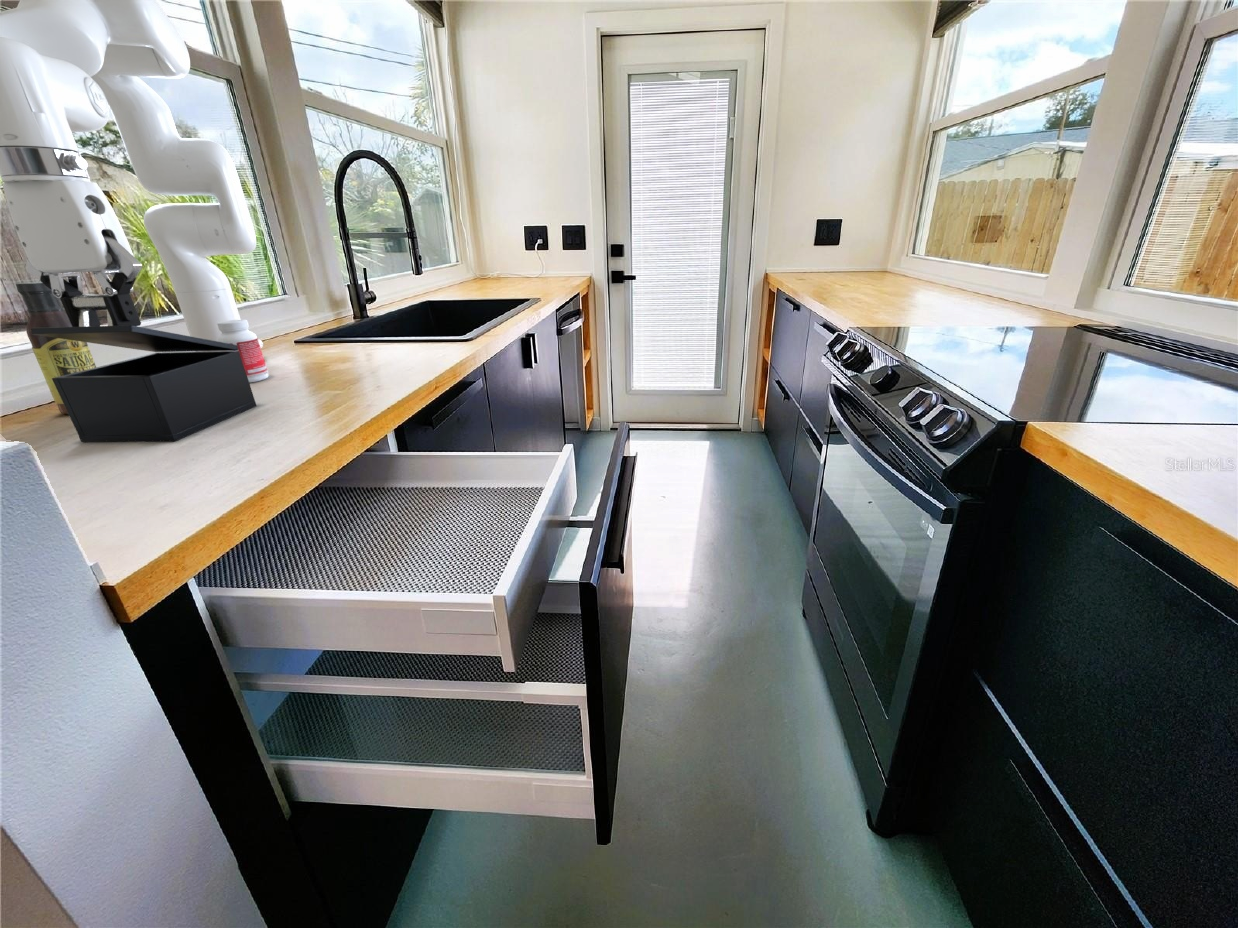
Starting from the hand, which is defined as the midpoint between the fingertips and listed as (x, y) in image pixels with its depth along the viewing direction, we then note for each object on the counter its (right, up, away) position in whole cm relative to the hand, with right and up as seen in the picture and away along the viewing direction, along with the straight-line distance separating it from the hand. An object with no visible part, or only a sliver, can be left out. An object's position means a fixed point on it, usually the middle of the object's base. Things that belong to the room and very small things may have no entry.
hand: (107, 326), depth 70 cm
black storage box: (+1, -12, +10) cm, 15 cm away
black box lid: (0, -1, +5) cm, 5 cm away
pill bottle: (-4, -2, +33) cm, 34 cm away
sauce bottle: (-20, -9, +18) cm, 29 cm away
